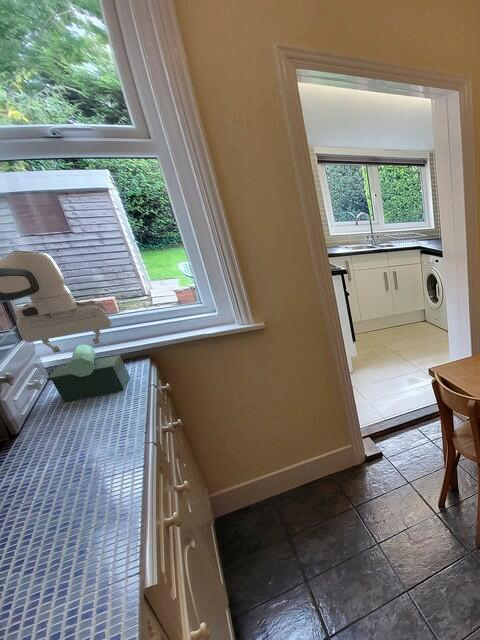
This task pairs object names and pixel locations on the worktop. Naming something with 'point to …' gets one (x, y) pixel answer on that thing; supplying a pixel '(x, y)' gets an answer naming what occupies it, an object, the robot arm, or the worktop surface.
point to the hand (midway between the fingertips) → (77, 347)
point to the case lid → (99, 366)
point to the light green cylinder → (82, 361)
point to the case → (93, 383)
